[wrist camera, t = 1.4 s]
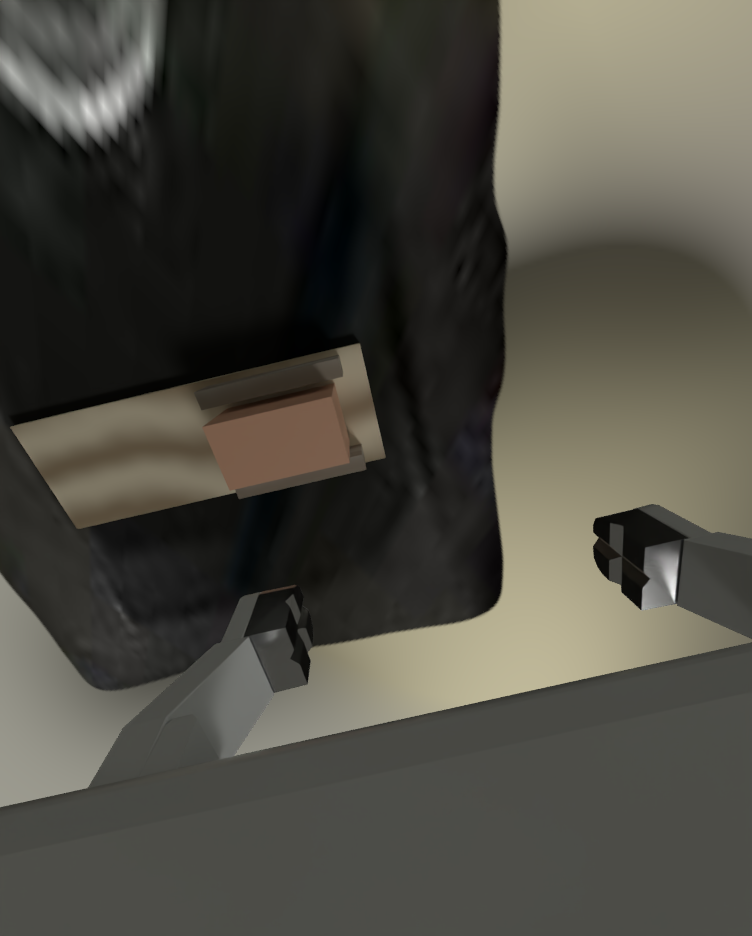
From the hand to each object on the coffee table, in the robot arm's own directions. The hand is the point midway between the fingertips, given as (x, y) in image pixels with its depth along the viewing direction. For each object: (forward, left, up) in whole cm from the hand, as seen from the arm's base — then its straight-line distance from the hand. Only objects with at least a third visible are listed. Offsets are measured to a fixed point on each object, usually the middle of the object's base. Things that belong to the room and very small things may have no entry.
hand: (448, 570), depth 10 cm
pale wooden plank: (+1, -17, -26) cm, 31 cm away
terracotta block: (+1, -9, -25) cm, 26 cm away
